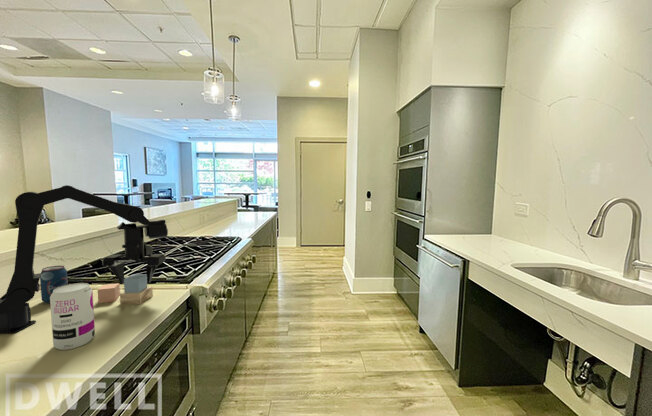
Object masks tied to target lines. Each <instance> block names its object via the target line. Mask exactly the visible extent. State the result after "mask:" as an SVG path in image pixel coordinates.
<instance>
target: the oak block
mask: <svg viewBox="0 0 652 416" xmlns="http://www.w3.org/2000/svg"><path fill="white" fill-rule="evenodd" d="M153 292H154V291H153V286H150V285H149V286H148V285H147V288H146V289H144V290H143V291H141V292H139V293H124V291H122V292H120V297H119V299H120V300H119V303H120V304H121V305H122V304H123V305H125V304H126V305H141V304H143V303H144V302H146V301H147V300H149V299H151V298H152V297H153V296H154V293H153ZM150 297H151V298H150Z"/></svg>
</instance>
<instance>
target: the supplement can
mask: <svg viewBox="0 0 652 416" xmlns="http://www.w3.org/2000/svg"><path fill="white" fill-rule="evenodd" d="M49 305H50V317H51V331H52V343H53V344H52V346H53V348H54V349H58V350H61V351H66V350H73V349H77V348H79V347H81V346H85V345H86V344H88V343H89V342H91V341H92V339H93V338H95V335H96V330H95V329H96V327H95V309H94V293H93V288H92V287H91V286H90V284H89V283H88V282H77V283H69V284H68V285H65V286H61V287H58V288H56V289H54V290H53V293H52V294H51V296H50V304H49Z"/></svg>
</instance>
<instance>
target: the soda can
mask: <svg viewBox="0 0 652 416" xmlns="http://www.w3.org/2000/svg"><path fill="white" fill-rule="evenodd" d="M40 273H41V275H40V279H39V285H40V295H41V296H40V297H41V301H42V302H43V303H44V304H47V303H50V296H51V294H52V293H53V290H54V289H56V288H58V287H61V286H65V285H69V284H68V283H69V281H68V270H67V269H66V268H65V265H52V266H46V267H43V268H41V272H40Z"/></svg>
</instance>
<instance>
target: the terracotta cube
mask: <svg viewBox="0 0 652 416" xmlns="http://www.w3.org/2000/svg"><path fill="white" fill-rule="evenodd" d="M120 288H121V287H120V283H109V284H102V285H100V287H99V288H97V300H98V301H97V303H98V304H103V303H110V302H116V301H117V300H118V299H120V297H119V296H120V293H121V291H120V290H121V289H120Z"/></svg>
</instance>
